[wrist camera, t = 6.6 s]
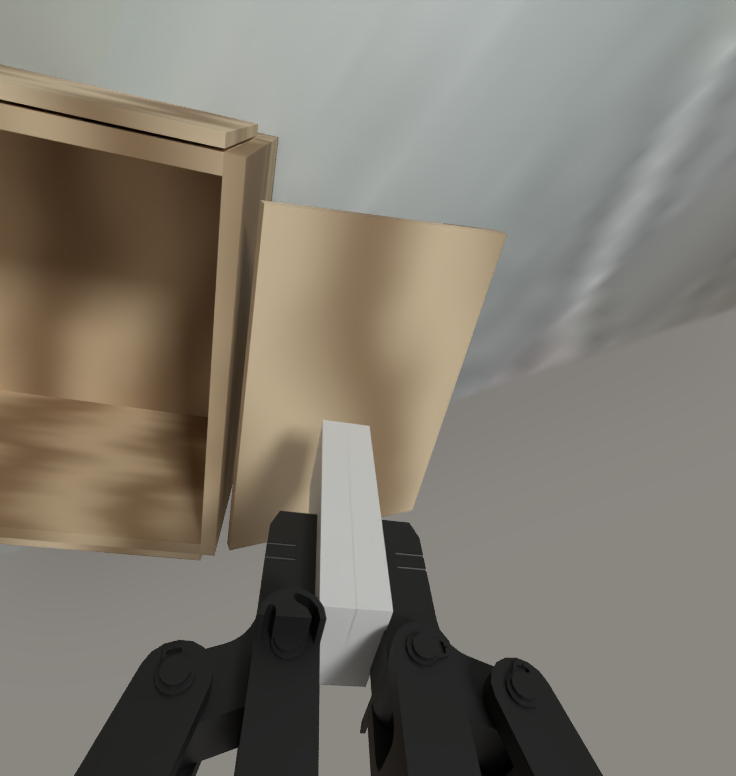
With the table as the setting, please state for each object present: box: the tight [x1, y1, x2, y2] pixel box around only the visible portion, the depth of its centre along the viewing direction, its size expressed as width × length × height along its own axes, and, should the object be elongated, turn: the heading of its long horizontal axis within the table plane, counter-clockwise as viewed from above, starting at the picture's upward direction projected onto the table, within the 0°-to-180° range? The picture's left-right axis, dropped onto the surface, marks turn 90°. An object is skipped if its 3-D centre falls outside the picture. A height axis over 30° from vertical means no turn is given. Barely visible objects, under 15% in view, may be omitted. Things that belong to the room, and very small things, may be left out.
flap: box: [227, 200, 507, 550], centre depth 19 cm, size 9×14×1 cm, turn 169°
